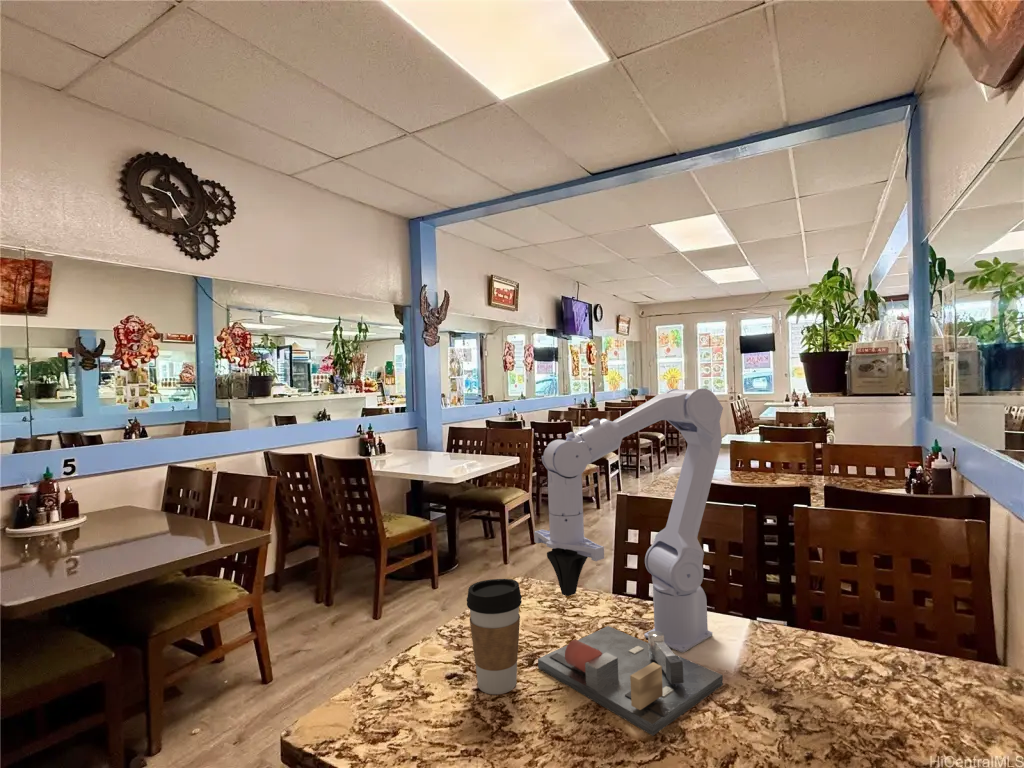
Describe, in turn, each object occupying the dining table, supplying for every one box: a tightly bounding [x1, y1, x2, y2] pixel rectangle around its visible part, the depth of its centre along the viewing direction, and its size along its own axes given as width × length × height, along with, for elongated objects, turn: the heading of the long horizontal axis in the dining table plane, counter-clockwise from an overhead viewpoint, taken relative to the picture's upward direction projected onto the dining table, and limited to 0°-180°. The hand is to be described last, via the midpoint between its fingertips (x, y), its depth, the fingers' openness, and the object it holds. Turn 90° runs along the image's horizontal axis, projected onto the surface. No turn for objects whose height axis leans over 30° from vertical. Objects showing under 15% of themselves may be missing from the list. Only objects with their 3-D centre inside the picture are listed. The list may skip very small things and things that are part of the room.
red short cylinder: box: [565, 639, 602, 673], centre depth 79 cm, size 4×5×4 cm
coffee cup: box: [466, 578, 523, 695], centre depth 80 cm, size 8×8×15 cm
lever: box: [647, 631, 684, 684], centre depth 79 cm, size 9×2×4 cm, turn 6°
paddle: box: [630, 662, 663, 710], centre depth 71 cm, size 5×1×4 cm, turn 129°
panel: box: [537, 625, 724, 736], centre depth 81 cm, size 17×22×5 cm
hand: (568, 593), depth 87 cm, fingers closed
